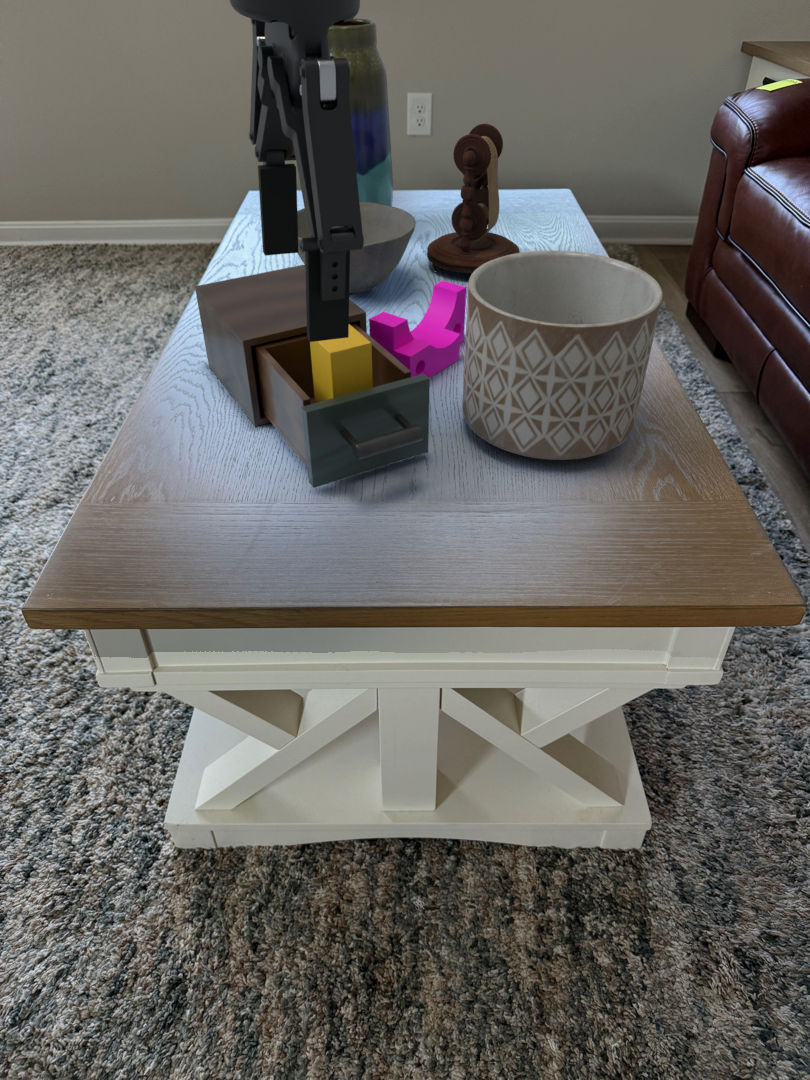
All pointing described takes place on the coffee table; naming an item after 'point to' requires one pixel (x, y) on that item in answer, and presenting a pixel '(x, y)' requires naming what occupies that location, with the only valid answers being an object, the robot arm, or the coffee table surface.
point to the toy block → (426, 332)
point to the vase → (366, 107)
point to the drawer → (343, 412)
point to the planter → (557, 352)
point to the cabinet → (254, 327)
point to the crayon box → (341, 366)
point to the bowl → (373, 244)
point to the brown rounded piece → (474, 207)
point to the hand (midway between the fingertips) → (302, 291)
